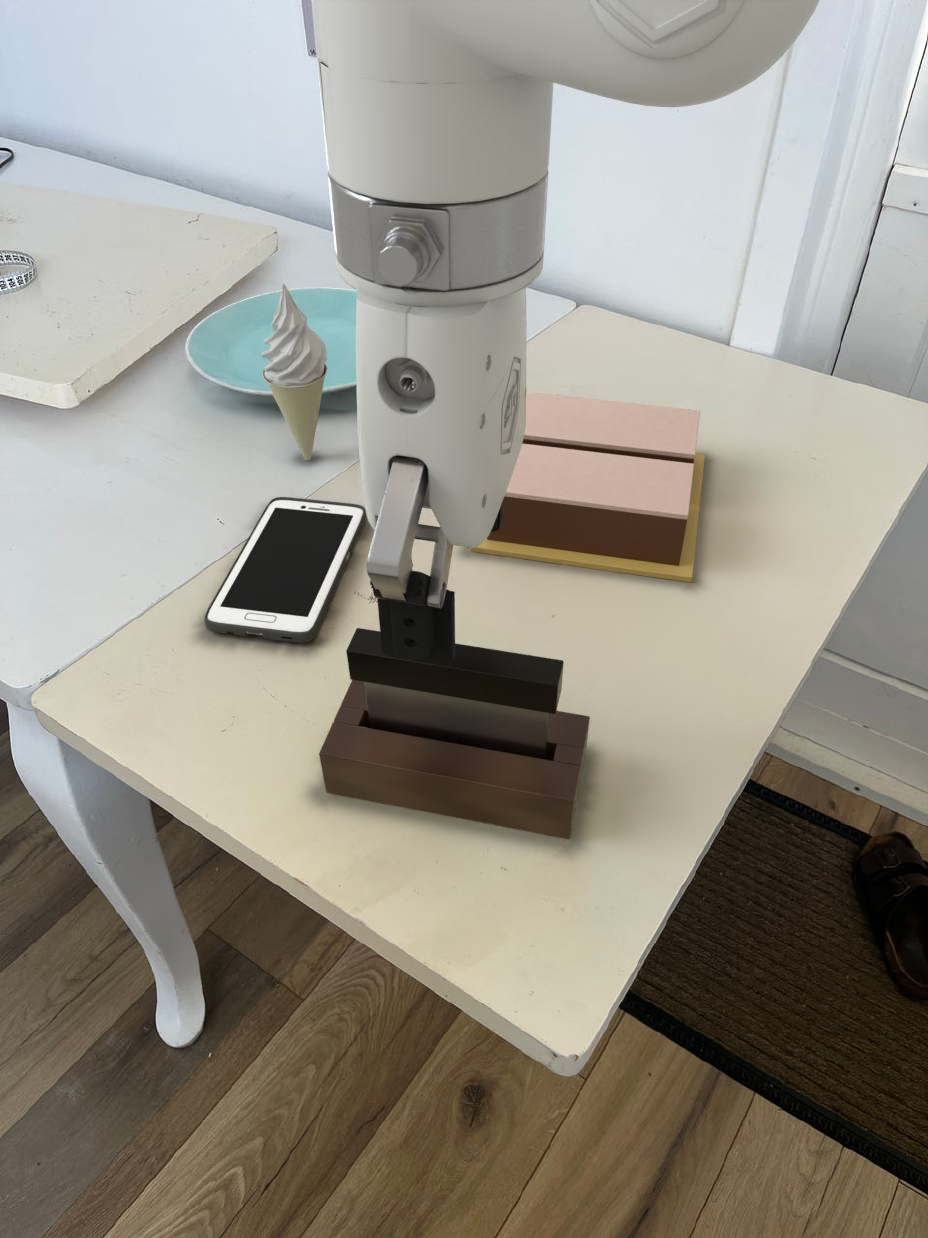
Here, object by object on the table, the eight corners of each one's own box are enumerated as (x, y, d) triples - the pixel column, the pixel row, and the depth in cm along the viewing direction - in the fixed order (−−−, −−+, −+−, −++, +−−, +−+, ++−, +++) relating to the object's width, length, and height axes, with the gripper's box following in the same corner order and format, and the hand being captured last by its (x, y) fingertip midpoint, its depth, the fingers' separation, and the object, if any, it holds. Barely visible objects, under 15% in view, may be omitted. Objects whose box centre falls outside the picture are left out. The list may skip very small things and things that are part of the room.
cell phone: (201, 633, 64) (198, 622, 63) (274, 504, 74) (272, 494, 74) (312, 646, 63) (310, 636, 62) (370, 514, 73) (369, 504, 72)
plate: (251, 300, 102) (246, 274, 100) (450, 322, 97) (449, 295, 95) (146, 404, 86) (139, 375, 84) (378, 436, 82) (375, 407, 80)
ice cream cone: (349, 462, 79) (329, 286, 68) (294, 483, 77) (265, 305, 66) (320, 436, 82) (297, 263, 72) (267, 455, 80) (235, 280, 69)
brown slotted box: (585, 755, 56) (590, 715, 53) (569, 840, 52) (573, 801, 49) (358, 715, 58) (353, 675, 56) (325, 792, 54) (318, 753, 52)
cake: (704, 458, 78) (714, 405, 75) (691, 582, 67) (702, 526, 64) (513, 436, 81) (514, 383, 78) (470, 551, 70) (469, 495, 66)
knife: (554, 778, 55) (564, 659, 48) (549, 803, 53) (558, 685, 47) (371, 745, 57) (356, 626, 50) (362, 768, 55) (345, 650, 49)
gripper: (490, 346, 27) (483, 737, 39) (581, 151, 39) (554, 493, 51) (242, 318, 28) (308, 705, 40) (405, 138, 40) (419, 474, 52)
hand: (446, 586), depth 45 cm, fingers open, 9 cm apart
